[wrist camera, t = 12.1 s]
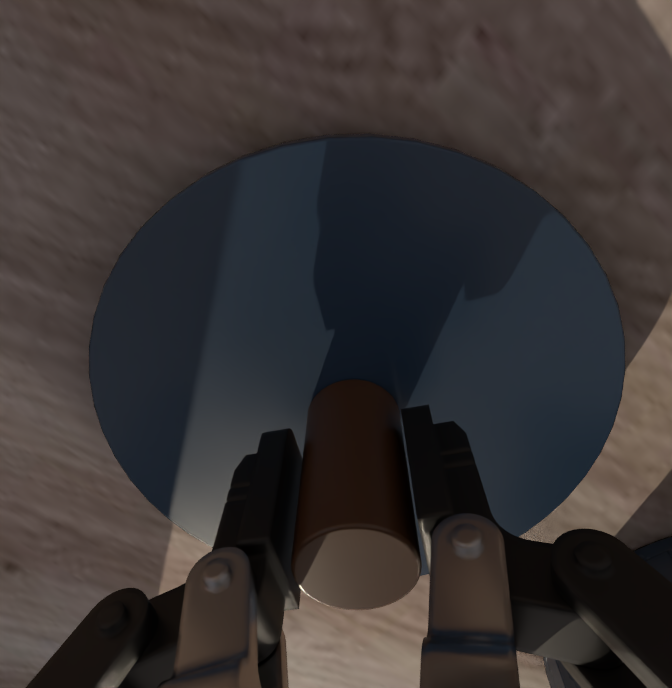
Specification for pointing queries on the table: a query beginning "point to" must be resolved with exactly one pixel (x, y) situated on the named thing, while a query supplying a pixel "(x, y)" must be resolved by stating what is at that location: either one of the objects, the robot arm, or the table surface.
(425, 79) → the table surface
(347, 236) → the lid
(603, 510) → the table surface
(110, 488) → the table surface
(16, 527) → the table surface
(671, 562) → the pot
